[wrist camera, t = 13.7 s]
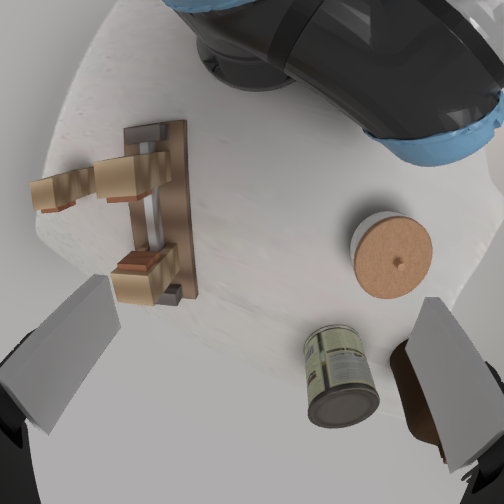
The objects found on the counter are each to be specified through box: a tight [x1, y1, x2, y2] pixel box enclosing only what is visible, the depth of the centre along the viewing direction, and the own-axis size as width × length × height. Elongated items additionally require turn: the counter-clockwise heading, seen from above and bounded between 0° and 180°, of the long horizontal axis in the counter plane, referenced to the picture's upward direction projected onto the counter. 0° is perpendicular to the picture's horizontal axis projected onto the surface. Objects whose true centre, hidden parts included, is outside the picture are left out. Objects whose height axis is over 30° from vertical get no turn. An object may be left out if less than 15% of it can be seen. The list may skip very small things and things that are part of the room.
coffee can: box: [304, 325, 380, 428], centre depth 38 cm, size 10×10×14 cm
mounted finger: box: [94, 151, 172, 203], centre depth 30 cm, size 5×5×10 cm
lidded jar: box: [350, 211, 432, 299], centre depth 32 cm, size 11×11×9 cm
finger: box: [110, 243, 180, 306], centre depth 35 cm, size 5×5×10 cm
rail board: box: [124, 120, 198, 306], centre depth 36 cm, size 26×9×4 cm, turn 0°
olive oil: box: [390, 339, 447, 464], centre depth 33 cm, size 11×11×25 cm
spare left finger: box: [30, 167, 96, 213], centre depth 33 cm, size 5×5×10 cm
